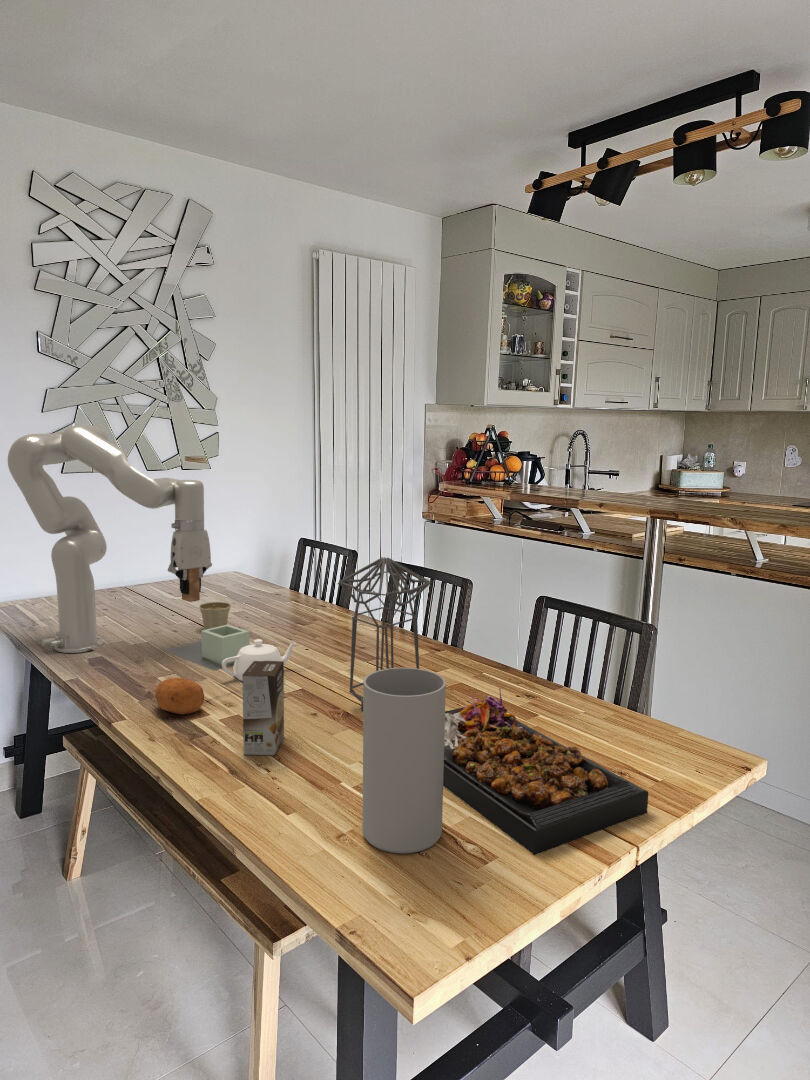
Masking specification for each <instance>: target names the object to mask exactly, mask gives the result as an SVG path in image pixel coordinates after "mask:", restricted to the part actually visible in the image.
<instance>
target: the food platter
mask: <svg viewBox="0 0 810 1080" xmlns="http://www.w3.org/2000/svg"><path fill="white" fill-rule="evenodd" d="M498 690H499V701H498V700H497V699H496V698H495V697H493V696H491V695H485V698H486V699H483V700H480V699H479V698H477V699H476V702H475V699H474V696H473V694H470V697H471V698H470V699H471V703H470V704H468V705H465V706H463V707H459V708H455V709H450V710H445V733H444V771H443V788H445V789H446V790H448V791H449V792H451V793H452V794H453V795H454V796H456V797H457V798H459V799H460V800H462V801H463V803H465V804H467V805H468V806H469V807H470V808H472V809H473V810H475V811H476V812H477V813H478V814H480V815H481V816H482V817H484V818H485V819H486V820H487V821H489V822H490V823H491V824H493V825H494V826H495V827H497V828H498V829H499V830H500V831H502V832H503V833H504V834H506V835H507V836H508V837H510V838H511V839H513V841H515V842H517V843H518V844H519V845H520V846H521V847H523V848H524V849H525V850H526V851H528V852H530V853H531V854H532V855H533V856H537V855H540V854H542V853H544V852H545V853H546V852H547V851H551V850H552V849H555V848H557V847H560V846H561V847H562V846H563V845H565V844H569V843H571V842H574V841H576V840H579V839H582V838H584V837H587V836H589V835H592V834H595V833H598V832H600V831H603V830H606V829H608V828H611V827H613V826H616V825H618V824H622V823H624V822H627V821H629V820H632V819H634V818H637V817H640V816H643V815H645V814H648V807H649V806H648V804H649V792H648V790H646V789H644V788H643V787H640V786H638V785H637V784H635V783H634V782H631V781H630V780H628V779H625V777H622V776H620V775H619V774H616V773H615V772H613V771H611V770H609V769H607V768H606V767H604V766H602V765H601V764H598V763H597V762H594V761H593V760H590V759H589V758H587V757H585V756H583V755H582V752H581V751H580V749H578V747H577V746H568V747H567V746H565V745H563V744H561V743H559V742H558V741H556V740H554V739H552V738H550V737H548V736H546V735H544V734H543V733H541V732H539V731H537V730H536V729H533V728H532V727H530V726H528V725H526V724H525V723H523V722H521V721H520V720H517V719H516V716H515V715H514V714H513V713H508V709H507V708H506V706H505V705H504V704H503V698H502V691H501V686H498Z"/></svg>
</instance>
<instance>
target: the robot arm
mask: <svg viewBox="0 0 810 1080" xmlns="http://www.w3.org/2000/svg"><path fill="white" fill-rule="evenodd" d="M73 461H80V462H81V463H82V464H85V465H86V466H88V467H89V468H91V469H93V470H95V471H96V472H97V473H99V474H100V475H102V476H104V477H105V478H107V479H108V481H109V482H110V484H111V485H113V487H114V488H115V489H116V490H117V491H118V492H120V493H121V494H122V495H123V496H125V497H127V498H128V499H130V500H132V501H133V502H135V503H136V504H138V505H140V506H142V507H145V508H146V509H147V508H148V509H152V510H153V509H160V508H162V507H166V506H167V507H168V506H171V505H174V522H173V523H171V524H170V525H171V529H174V531H173V532H172V535H171V537H172V538H171V544H170V563H169V565H168V568H167V571H168V573H170V574H173V575H175V576H176V577H177V579H178V580H179V591H180V593H181V594H182V593H183V594H186V595H187V594H189V580H187V571H188V569H193V568H199V586H200V593H201V590H202V589H201V588H202V578H203V577H204V574H205V573H206V572H207V570H209V569H210V568H211V567H212V566H213V563H212V559H211V558H212V556H211V555H212V554H211V553H212V552H211V544H210V538H209V533H208V530H207V529H205V488H204V486H205V485H204V484H203V482H202V481H201V480H197V479H175V478H170V477H160V478H153V479H152V478H151V477H148V476H147V475H145V474H144V473H143V472H140V471H139V470H138V469H136V468H135V467H134V466H132V465H131V464H130V462H129V459H128V453H127V451H125V450H124V449H122V448H120V447H118V446H117V445H116V444H114V443H112V442H110V441H109V439H108V436H107V434H106V432H105V430H103V429H102V428H100V427H98V426H96V425H93V424H78V425H77V424H75V425H71V426H70V427H67V428H66V429H64V431H59V432H54V433H53V432H52V433H49V432H48V433H30V434H26V435H23V436H21V437H18V438H17V439H16V440H15V441H14V442H13V443H12V445H11V446H10V448H9V450H8V455H7V467H8V470H9V472H10V474H11V477H12V478H13V480H14V482H15V484H16V486H17V487H18V488H19V490H20V491H21V493H22V495H23V497H24V498H25V501H26V504H27V505H28V507H29V508H30V511H31V512H32V514H33V515H34V518H35V520H36V521H37V523H38V525H39V527H40V528H41V529H42V530H43V532H45V533H48V534H51V535H57V534H62V533H65V536H63V537H61V538H60V539H59V540H57V541H56V542H55V543H54V544H53V547H52V548H51V549H52V550H51V556H50V558H51V562H52V563H51V564H52V567H53V570H54V574H55V581H56V583H55V584H56V595H57V610H58V613H57V614H58V627H59V631H57V632H56V631H55V635H53V636H52V637H47V638H43V639H41V645H42V647H47V646H51V647H54V650H55V651H56V652H60V653H64V654H78V653H86V652H90V651H93V648H96V647H100V646H103V645H104V639H102V638H101V637H99V636H98V630H97V626H98V625H97V624H98V623H97V609H96V591H95V588H96V587H95V580H94V576H93V574H92V573H93V572H92V571H91V567H90V565H92V564H95V563H97V562H99V561H100V560H102V559H103V558H105V556H106V552H107V541H106V538H105V537H104V535H103V532H102V531H101V529H100V527H99V525H98V523H97V522H96V520H95V518H94V515H93V514H92V512H91V510H90V508H89V507H88V505H87V504H86V503H85V502H83V501H82V500H81V499H80V498H78V497H75V496H69V495H68V496H63V495H62V493H61V492H60V490H59V488H58V486H57V484H56V483H55V481H54V479H53V478H52V476H50V474H48V473H47V471H46V470H45V469H44V466H48V465H57V464H62V463H63V464H64V463H68V462H73ZM176 568H177V569H176Z"/></svg>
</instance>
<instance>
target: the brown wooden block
mask: <svg viewBox="0 0 810 1080" xmlns="http://www.w3.org/2000/svg"><path fill="white" fill-rule="evenodd" d="M187 580H189V594H187V595H186V594H183V593H181V600H182V601H186V602H188V603H192V602H198V601H200V600H201V599H200V593H201V592H200V586H199V568H193V569H188V571H187Z"/></svg>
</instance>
